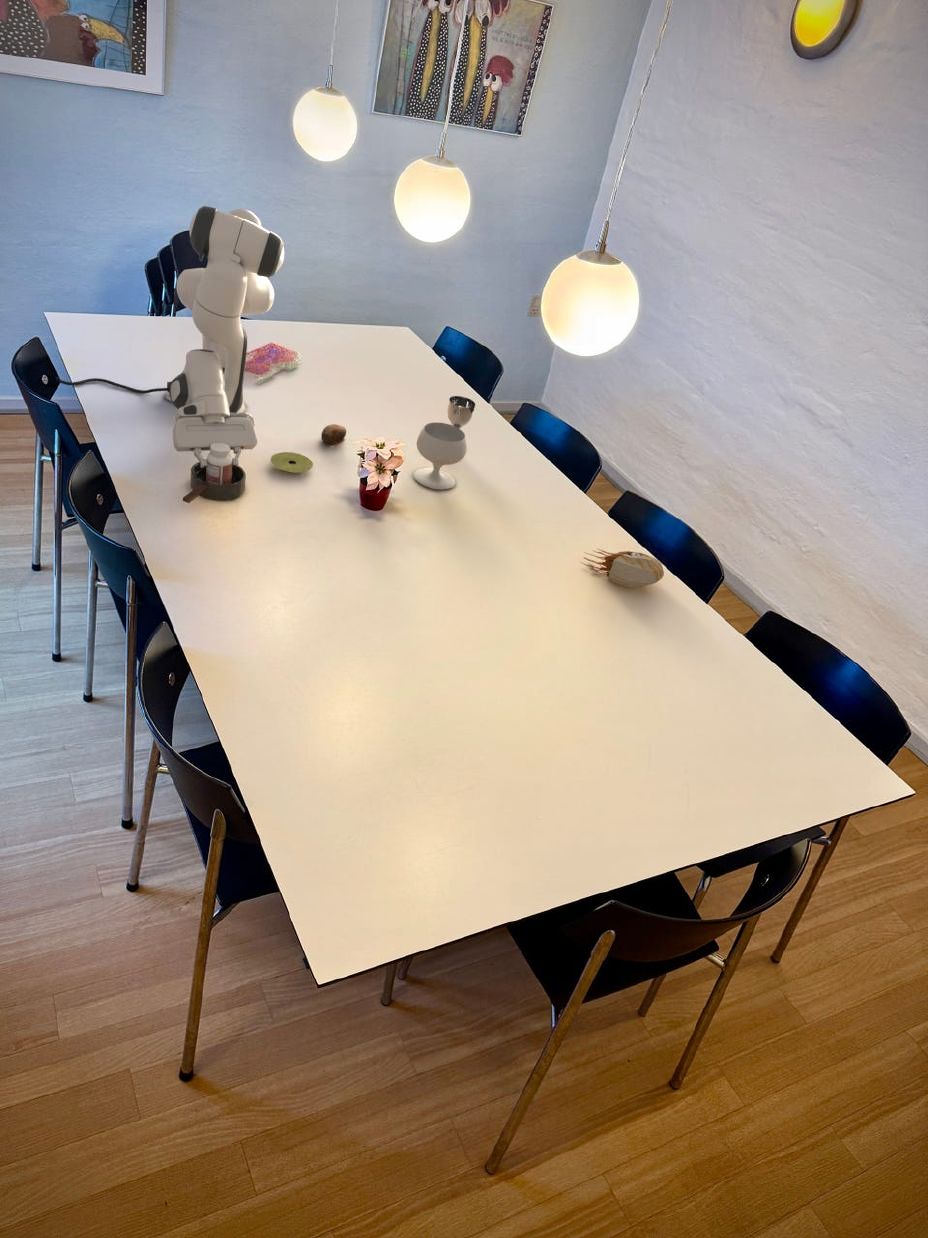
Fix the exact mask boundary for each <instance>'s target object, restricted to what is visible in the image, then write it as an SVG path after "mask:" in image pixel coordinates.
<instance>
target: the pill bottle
mask: <svg viewBox="0 0 928 1238" xmlns="http://www.w3.org/2000/svg"><path fill="white" fill-rule="evenodd" d="M230 453H231V450H230V447H229V446H228V445H227V444H224V443H213V444H212V445H211V446H210V450H209V452H208V453H207V454H206V459H207V461H208V462H207V463H208V467H207V468H206V482H208V483H212V484H219V485H227V484H231V478H232V458H233V457H232V455H231V454H230Z"/></svg>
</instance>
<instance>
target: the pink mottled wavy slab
mask: <svg viewBox="0 0 928 1238" xmlns="http://www.w3.org/2000/svg"><path fill="white" fill-rule="evenodd" d="M302 358H303V353H301V352H298V351H295V350H292V349H290V348H288V347H284V346H282V345H279V344H276V343H274V342H269V343H267V344H265V345H262V346H259V347H257V348H255V349H252V350H250V351H247V354H246V359H248V360H246V362H245V370H244V373H247V374H250V375H252V376H254V377H255V378H254V379H256V381H257V384H258V385H260V384H262V383H264V382H265V381H268V380H271V379H272V377H273V375H275V374H277V373H279V372H280V371H281V370H285V371H288V372H289V371H291V370H294V369H295V367H296V366H297V365H299V364H300V363H302V361H301V360H300V359H302Z"/></svg>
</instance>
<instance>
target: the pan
mask: <svg viewBox="0 0 928 1238" xmlns="http://www.w3.org/2000/svg"><path fill="white" fill-rule="evenodd" d="M246 478H247V473H246V470H245V469H243V467H241V466H240V465H238V467H232V478H231V484H227V485H219V484H212V483H208V482H206V468H201V466H200V461H198V462H196V463H194V465H192V466H191V468H190V488H191V491H192V490H194V489H195V488H196V487H198V486H199V485H200V484H201V483H202V484H205V485H208V489H207V490H206V491H204V492H203V493H202V494H201V495H199V496H198V497H201V498H204V499H206V500H209V501H215V502H216V501H217V502H227V501H233V500H236V499H238V498H240V497H241V496H243V494H244V493H245V490H246V482H247V481H246V480H247V479H246Z"/></svg>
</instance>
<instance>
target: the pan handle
mask: <svg viewBox="0 0 928 1238" xmlns="http://www.w3.org/2000/svg"><path fill="white" fill-rule="evenodd" d="M207 489H208V485H205V484H202V483H201V484H200V485H199V486H198V487H196V488H195V489H194V490H192V489H191V491H190V492H188V493H187V494H185V495H184V496H182V502H184V503H187V504H190V503H192V502H193V501H194V500H196V499H197V498H198V497H200V496H199V495H201V494H202V493H203V492H204V491H206V490H207Z"/></svg>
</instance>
